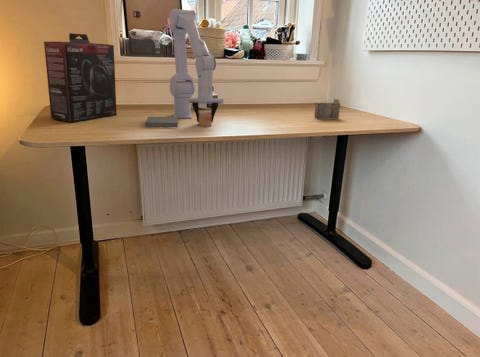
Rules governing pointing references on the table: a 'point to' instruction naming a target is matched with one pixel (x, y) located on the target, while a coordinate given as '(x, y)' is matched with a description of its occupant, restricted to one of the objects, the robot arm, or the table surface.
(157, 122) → the base block
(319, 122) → the table surface
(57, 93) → the headset box
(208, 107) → the medicine bottle
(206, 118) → the cube
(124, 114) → the table surface
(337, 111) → the ruin model on sheet
